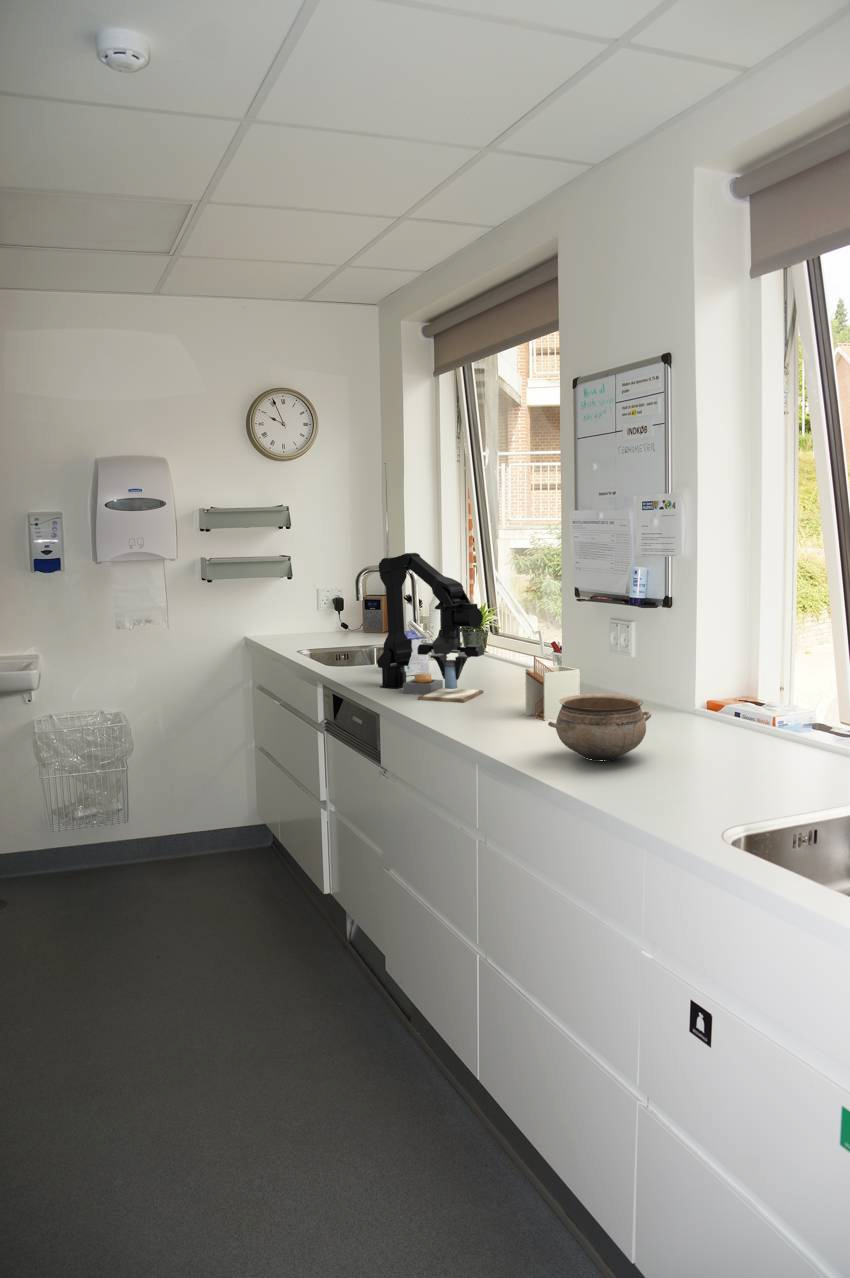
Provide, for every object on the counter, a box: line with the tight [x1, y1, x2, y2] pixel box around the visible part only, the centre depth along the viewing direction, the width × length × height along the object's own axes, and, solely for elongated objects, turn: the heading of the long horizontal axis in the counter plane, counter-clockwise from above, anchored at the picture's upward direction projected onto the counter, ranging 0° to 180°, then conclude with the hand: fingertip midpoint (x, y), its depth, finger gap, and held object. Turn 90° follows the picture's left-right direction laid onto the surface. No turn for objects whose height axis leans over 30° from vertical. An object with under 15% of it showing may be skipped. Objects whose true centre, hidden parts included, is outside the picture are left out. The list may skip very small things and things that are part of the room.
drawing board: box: [417, 687, 484, 703], centre depth 285 cm, size 14×16×1 cm
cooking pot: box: [547, 693, 652, 762], centre depth 210 cm, size 25×19×12 cm
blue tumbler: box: [444, 659, 458, 689], centre depth 285 cm, size 4×4×8 cm
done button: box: [414, 673, 432, 683], centre depth 294 cm, size 5×5×2 cm
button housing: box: [402, 678, 444, 695], centre depth 294 cm, size 9×9×3 cm
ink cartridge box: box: [404, 630, 430, 677], centre depth 326 cm, size 10×6×14 cm, turn 115°
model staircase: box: [524, 654, 581, 721], centre depth 255 cm, size 9×11×17 cm
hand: (451, 679), depth 285 cm, fingers closed on blue tumbler, 3 cm apart
